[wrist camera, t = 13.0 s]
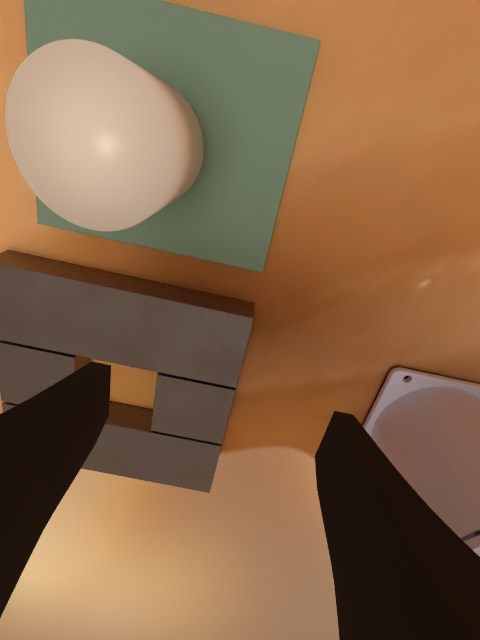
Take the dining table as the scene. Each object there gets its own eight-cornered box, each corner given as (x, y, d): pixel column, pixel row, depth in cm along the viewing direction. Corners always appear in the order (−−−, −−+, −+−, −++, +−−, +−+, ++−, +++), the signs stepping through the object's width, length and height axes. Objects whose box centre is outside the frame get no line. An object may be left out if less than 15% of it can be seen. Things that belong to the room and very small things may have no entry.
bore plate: (254, 303, 19) (253, 318, 17) (213, 468, 25) (209, 492, 24) (8, 250, 19) (-19, 260, 17) (27, 433, 25) (9, 454, 23)
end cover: (220, 101, 15) (186, 68, 8) (201, 208, 17) (162, 247, 10) (115, 71, 14) (-4, 14, 8) (109, 184, 16) (12, 209, 10)
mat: (319, 43, 14) (320, 40, 14) (262, 270, 18) (262, 272, 18) (28, -29, 13) (21, -34, 13) (42, 222, 18) (37, 223, 18)
